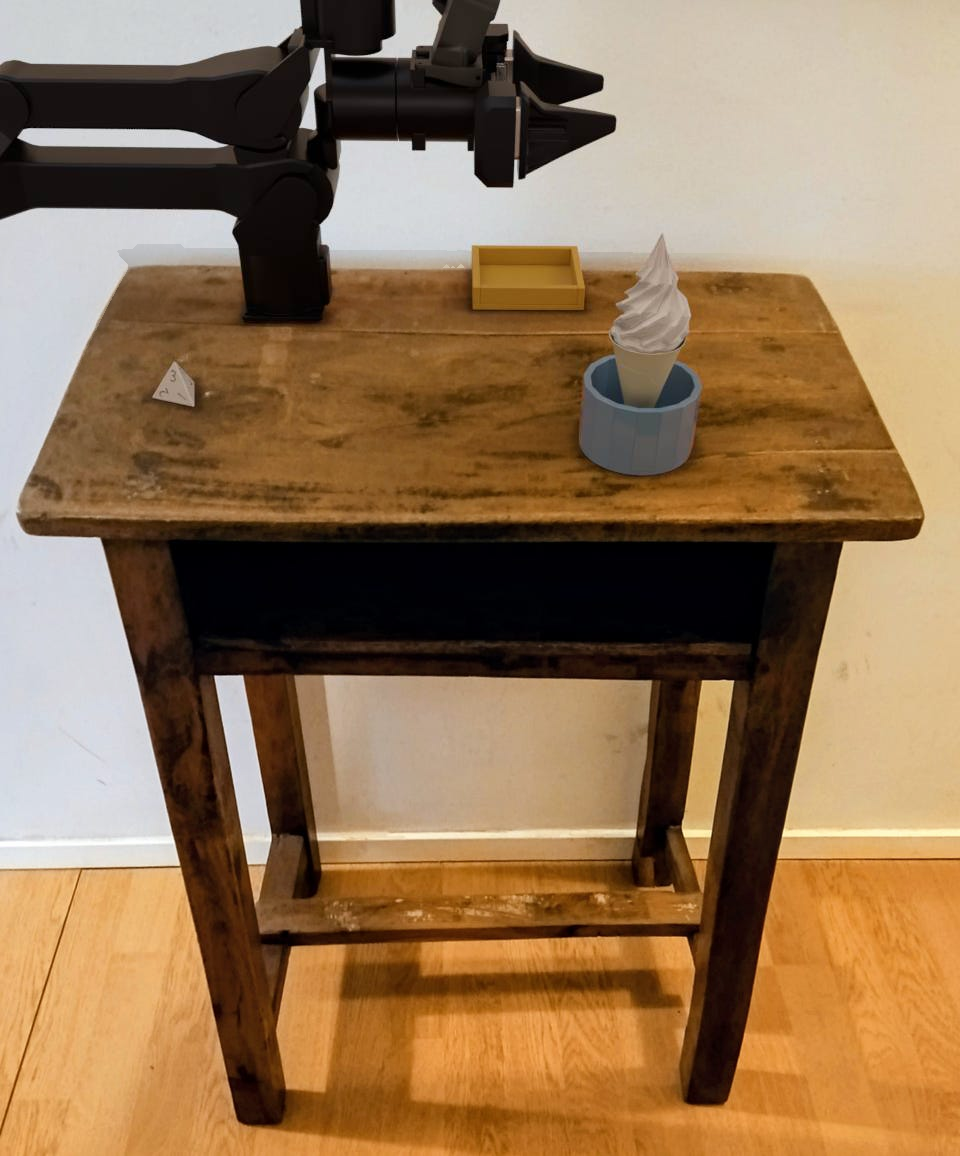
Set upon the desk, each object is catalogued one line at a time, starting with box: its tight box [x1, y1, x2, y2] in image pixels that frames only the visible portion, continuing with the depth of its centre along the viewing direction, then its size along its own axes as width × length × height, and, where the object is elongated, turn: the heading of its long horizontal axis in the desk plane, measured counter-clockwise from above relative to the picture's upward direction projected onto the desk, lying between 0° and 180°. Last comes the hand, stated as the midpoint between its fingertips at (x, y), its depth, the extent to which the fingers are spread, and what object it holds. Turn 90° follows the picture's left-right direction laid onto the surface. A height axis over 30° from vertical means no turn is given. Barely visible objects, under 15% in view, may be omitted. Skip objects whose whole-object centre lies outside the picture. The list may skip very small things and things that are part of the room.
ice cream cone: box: [608, 233, 692, 408], centre depth 75 cm, size 5×5×15 cm
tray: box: [471, 244, 586, 311], centre depth 98 cm, size 9×8×2 cm
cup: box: [578, 353, 703, 476], centre depth 79 cm, size 8×8×5 cm
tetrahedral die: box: [152, 361, 196, 408], centre depth 84 cm, size 4×3×3 cm
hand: (609, 102), depth 85 cm, fingers open, 9 cm apart
